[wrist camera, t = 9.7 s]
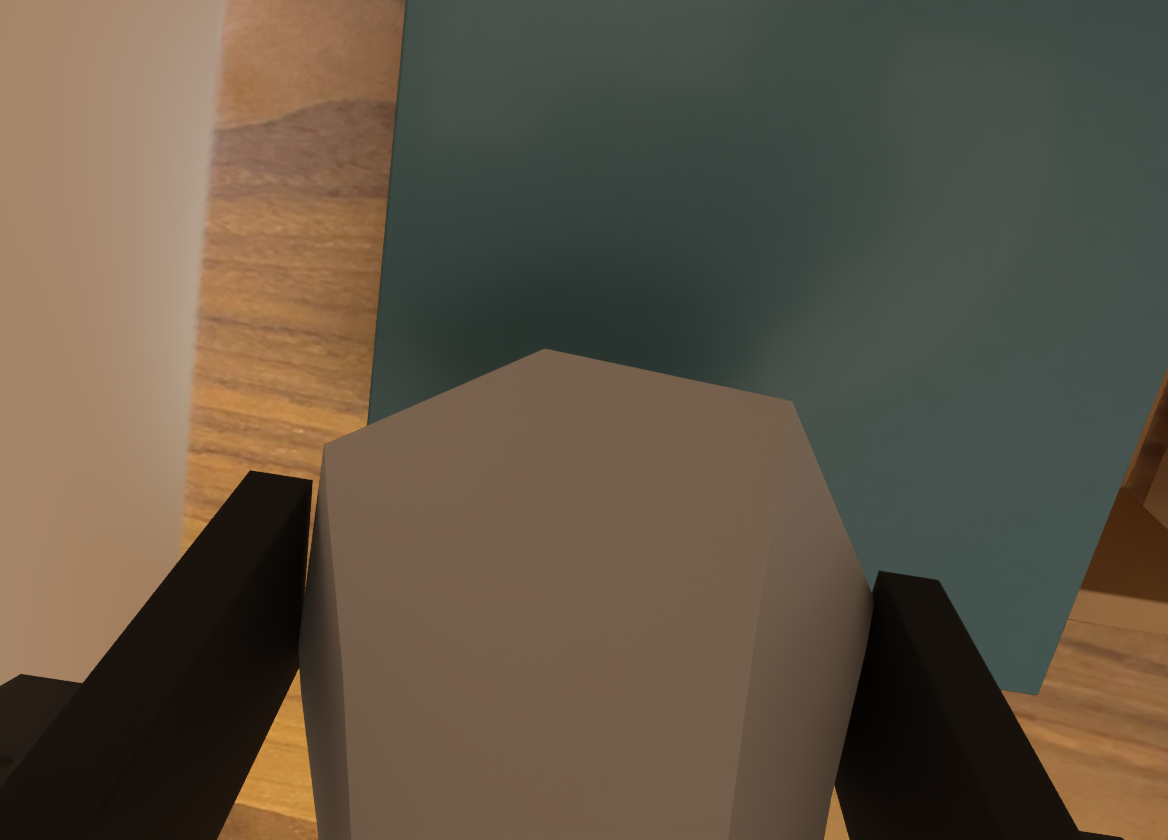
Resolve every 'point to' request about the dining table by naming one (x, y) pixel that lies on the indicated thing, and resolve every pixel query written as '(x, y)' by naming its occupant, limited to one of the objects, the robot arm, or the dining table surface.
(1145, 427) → the drawer
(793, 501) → the flask
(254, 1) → the dining table surface
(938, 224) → the cabinet
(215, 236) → the dining table surface
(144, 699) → the robot arm
